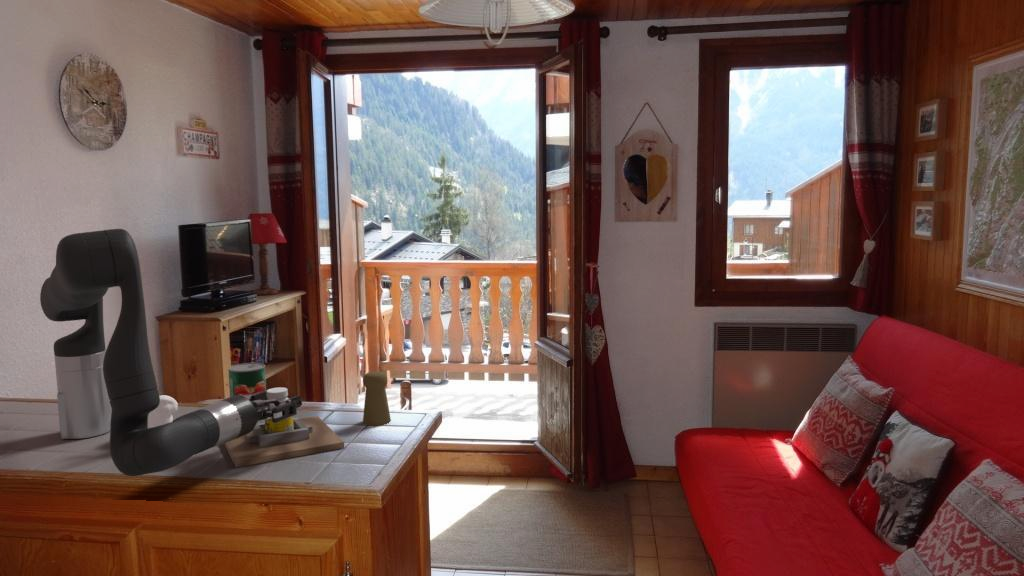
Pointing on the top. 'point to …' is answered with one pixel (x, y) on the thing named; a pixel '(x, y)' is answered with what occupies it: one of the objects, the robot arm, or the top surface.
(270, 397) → the supplement bottle
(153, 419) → the rabbit
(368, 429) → the top surface
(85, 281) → the robot arm
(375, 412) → the cork
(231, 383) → the canned tomato
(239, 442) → the holder
